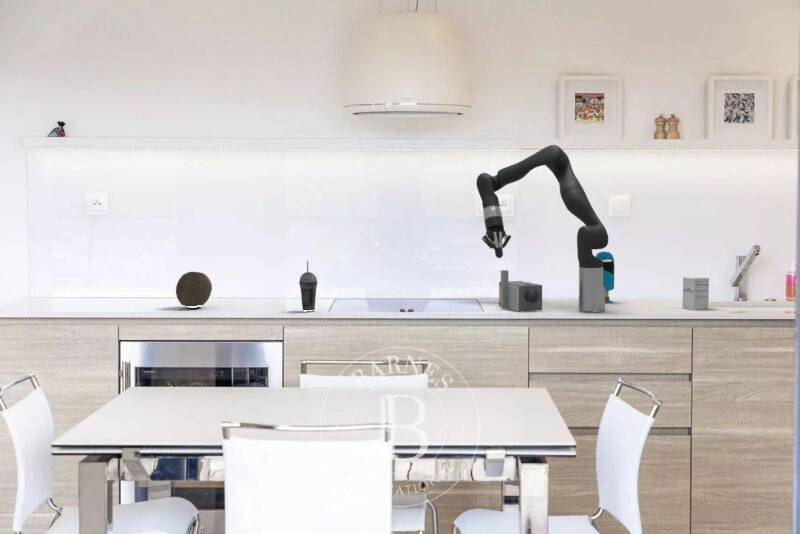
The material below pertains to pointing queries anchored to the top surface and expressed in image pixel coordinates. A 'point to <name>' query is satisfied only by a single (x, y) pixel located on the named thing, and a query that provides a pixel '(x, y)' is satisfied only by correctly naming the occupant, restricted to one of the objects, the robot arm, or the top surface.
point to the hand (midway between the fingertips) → (499, 257)
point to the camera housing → (526, 295)
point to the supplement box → (695, 293)
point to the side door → (508, 293)
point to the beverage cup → (308, 290)
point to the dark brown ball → (193, 289)
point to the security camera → (607, 273)
